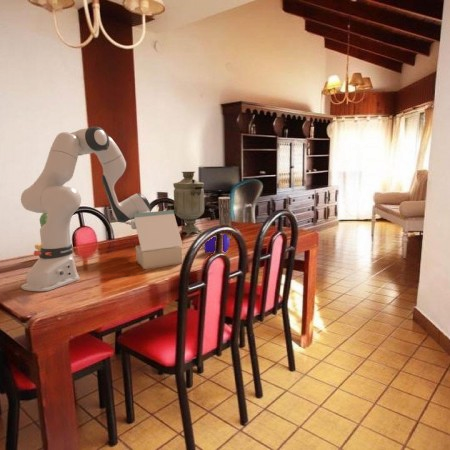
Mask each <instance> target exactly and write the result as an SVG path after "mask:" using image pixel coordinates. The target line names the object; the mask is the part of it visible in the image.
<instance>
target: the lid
mask: <svg viewBox="0 0 450 450" xmlns="http://www.w3.org/2000/svg"><path fill="white" fill-rule="evenodd" d="M173 210H174V209H172V210H169V209H168V210H160V211H150V212H147V213H136V214H133V216H134V217H133V220H135V224H136V229H135V230H136V233H137V238H138V242H139V245H140V247H141V251H142V252H144V251H151V250H159V249H166V248H173V247H183V242H182V237H181V235H180V234H181V233H179V232H180V229H179V227H178V223H177V220H176V216H175V215H176V214H175V213H174V211H173Z"/></svg>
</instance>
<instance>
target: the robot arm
mask: <svg viewBox="0 0 450 450" xmlns="http://www.w3.org/2000/svg"><path fill="white" fill-rule="evenodd" d="M91 154H94V155H95V156H97V159H98V161H99V163H100V165H101V167H102V174H101V176H100V177H101V183H102V185H103V186H102V187H103V189H104V191H105V194H106V197H107V200H108V202H109V205H110V208H111V213H112V216H113V218H114V220H115V221H116V222H118V223H121V224H125V223H127V222H128V221H130V220H131V219H132V220H131V221H130V222H128V225H129V226H131V229H132V230H137V229H136V224H135V220H134V219H133V218H134V216H133V214H136V213H147V212H152V210H151V209H152V208H151V207H152V206H151V204H150V202H149V201H148V198H146V196H144V194H141V193H138V192H136V193H135V194H133V195H131V196H129V197H128V198H126V199H124V200H122V201H121V202H119V200H118V197H117V194H116V192H115V185H116V183H117V182H118V180H119V179H120V178H121V177H122V176H123V174H124V173H125V170H126V168H127V161H126V159H125V157H124V155H123V153H122V151H121V150H120V148H119V146H118V145H117V143H116V142H115V141H114V140H113V138H112V137H111V136H110V135H108V134H107V132H106V131H105V129H103V128H102V127H99V126H90V127H86V128H81V129H78V130H76V131H73V132H67V131H62V132H60V133H58V134H57V135H56V137H55V138H54V140H53V141H52V145H51V147H50V150H49V152H48V155H47V158H46V163H45V164H44V168H43V170H42V172H41V173H40V174H39V176H38V177H37V178H36V180H35V181H34V182H33V184H31V185H29V187H28V188H26V189H24V190H23V191H22V193H21V195H20V202H21V205H22V207H23V208H24V209H25V210H26V211H29V212H32V213H37V214H43V213H48V219H47V222H46V224H44V225H43V226H42V227H41V226H40V229H39V234H40V235H39V236H40V243H41V245H42V247H41V250H40V251H38V250H34V251H33V255H34V256H35V257H36V256H38V257H39V258H38V259H37V261H36V262H35V263H34V264H33V265H32V266H31V268H30V269H29V270H28V272H27V277H26V278H27V280H26V283H23V284H21V289H22V290H24V291H29V292H48V291H52V290H54V289H57V288H60V287H64V286H65V285H68V284H71V283H74V282H76V281H79V280H80V275H79V273H78V270H77V268H76V262H75V260H74V255H73V252H74V249H73V244H72V243H71V241H72V240H71V233H70V231H71V230H70V225H71V220H72V218H73V215H74V213H75V212H76V211H78V210H79V208H80V207H81V204H82V203H81V202H82V197H81V194H80V193H79V191H78V189H75V188H73V187H69V186H64V185H65V184H66V183H68V182H69V181H71V180H72V179H73V176H74V174H75V170H76V165H77V162H78V158H79V156H83V155H91Z"/></svg>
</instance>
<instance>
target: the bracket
mask: <svg viewBox="0 0 450 450" xmlns="http://www.w3.org/2000/svg"><path fill="white" fill-rule="evenodd" d="M215 241H216V237H213V238H212V239H210V240H209V241H207V242H206V243H205V242H204V252H205V253H207V252H211V253H210V254H213V253H212V252H214V251H215ZM229 245H230V239H229V238H227V234H224V235H223V251H224V252H226V251H227V250H228V251H229V249H228V247H229V248H230V246H229ZM226 253H227V252H226Z"/></svg>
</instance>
